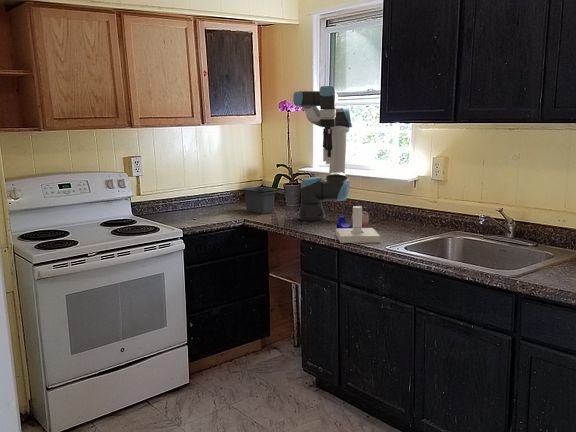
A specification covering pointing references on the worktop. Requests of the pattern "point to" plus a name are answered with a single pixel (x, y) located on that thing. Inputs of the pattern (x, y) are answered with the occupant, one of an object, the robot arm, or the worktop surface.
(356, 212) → the tube
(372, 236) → the socket block
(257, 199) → the storage bin
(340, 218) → the blue shoe
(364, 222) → the decorative fruit
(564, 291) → the worktop surface
